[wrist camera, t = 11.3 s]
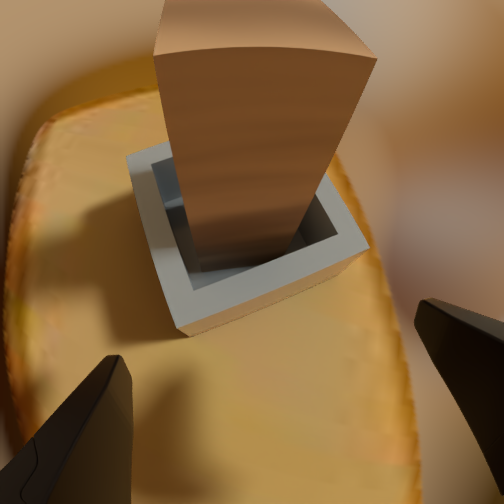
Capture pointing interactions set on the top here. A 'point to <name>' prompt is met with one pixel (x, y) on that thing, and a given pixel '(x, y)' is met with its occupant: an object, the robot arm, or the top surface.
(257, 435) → the top surface
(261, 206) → the walnut block
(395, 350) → the top surface
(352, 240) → the slate well
